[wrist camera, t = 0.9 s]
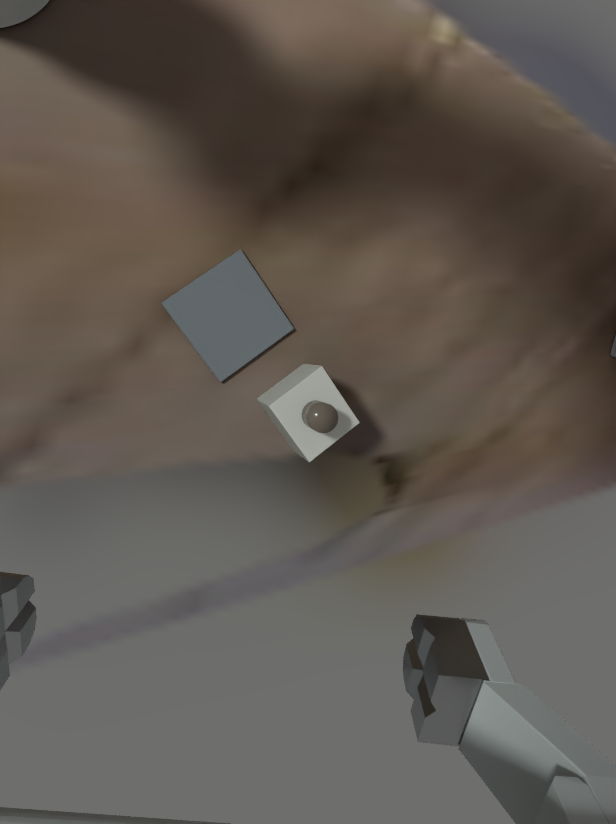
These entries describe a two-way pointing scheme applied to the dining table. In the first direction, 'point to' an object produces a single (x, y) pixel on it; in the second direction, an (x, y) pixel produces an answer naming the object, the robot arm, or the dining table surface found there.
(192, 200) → the dining table surface
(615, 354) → the coffee box
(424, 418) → the dining table surface
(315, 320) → the dining table surface
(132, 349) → the dining table surface
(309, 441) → the perfume bottle
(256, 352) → the felt mat
